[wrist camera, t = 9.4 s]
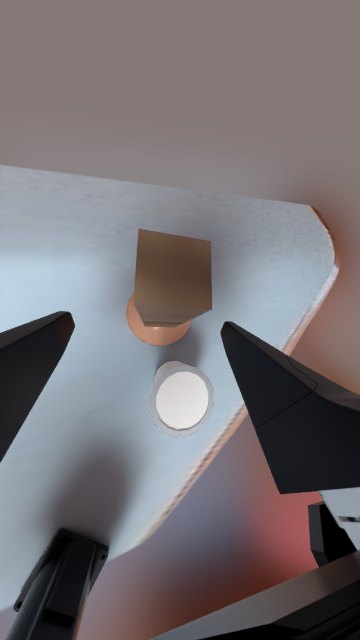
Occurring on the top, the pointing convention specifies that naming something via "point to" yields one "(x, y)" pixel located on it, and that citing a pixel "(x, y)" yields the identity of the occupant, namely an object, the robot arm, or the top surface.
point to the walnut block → (171, 278)
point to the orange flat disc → (153, 328)
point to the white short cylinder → (180, 399)
